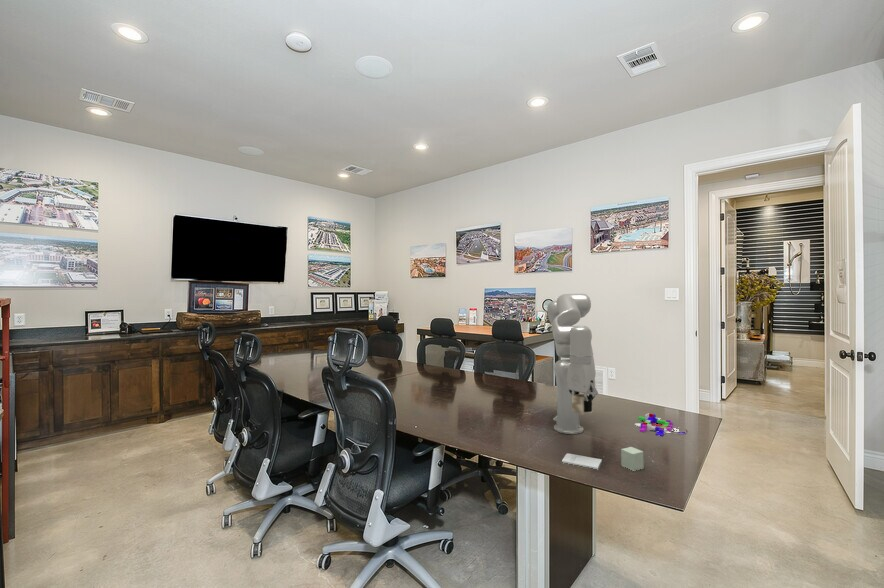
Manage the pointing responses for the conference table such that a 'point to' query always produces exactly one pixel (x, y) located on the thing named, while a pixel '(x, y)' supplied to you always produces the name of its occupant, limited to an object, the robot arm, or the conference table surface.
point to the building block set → (651, 420)
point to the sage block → (632, 458)
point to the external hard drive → (582, 461)
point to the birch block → (579, 404)
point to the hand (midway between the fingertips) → (582, 409)
